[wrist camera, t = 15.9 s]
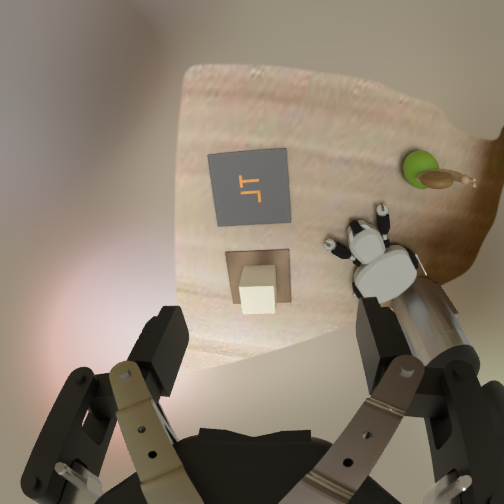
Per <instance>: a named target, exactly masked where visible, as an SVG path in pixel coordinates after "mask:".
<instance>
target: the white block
mask: <svg viewBox="0 0 504 504" xmlns="http://www.w3.org/2000/svg"><path fill="white" fill-rule="evenodd" d="M239 292H240V299H241V306H242V312H243V314H272V313H276V298H277V285H276V271H275V265H255V266H244V267H243V271H242V275H241V279H240V284H239Z"/></svg>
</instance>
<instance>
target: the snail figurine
mask: <svg viewBox="0 0 504 504" xmlns="http://www.w3.org/2000/svg"><path fill="white" fill-rule="evenodd" d="M403 172H404V175H405V178H406V180H407V181H408V182H409V183H410V184H411V185H412V186H414V187H416V188H419V189H426V188H432V189H443V188H447V187H450V186H451V185H452V184H453V180H454V181H457V182H461V183H462V184H464V185H467V184H469V183H470V177H469V176H468V175H465V174H461V173H459V172H456V171H452V170H446V169H439V166H438V163H437V161H436V159H435V158H434V157H433V156H432V155H431V154H430V153H428V152H426V151H420V150H419V151H414V152H412V153H410V154H409V155H408V156H407V157H406V159H405V161H404V164H403ZM471 179H472V181H473V182H475V181H476V179H475V178H471ZM471 184H472V183H471ZM472 186H473V187H476V184H475V183H473V184H472Z"/></svg>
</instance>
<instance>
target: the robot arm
mask: <svg viewBox="0 0 504 504" xmlns="http://www.w3.org/2000/svg"><path fill="white" fill-rule="evenodd" d="M392 308H393V311H394V312H393V311H392V310H391V309H390V308H389V307H381V306H380V304H379V301H378V299H377V297H376V296H375V297H364V298H359V302H358V312H357V320H356V337H357V341H358V345H359V349H360V354H361V358H362V362H363V367H364V371H365V376H366V380H367V385H368V389H369V395H371V397H370V398H367V399H366V400H365V401H364V402H363V404H362V405H361V407H360V408H359V410H358V411H357V413H356V414H355V415H354V417H353V418H352V420H351V421H350V423H349V424H348V425H347V427H346V428H345V429H344V431H343V432H342V433H341V435H340V436H339V437H338V439H337V440H336V441H335V443H334V444H332V443H330V442H328V441H326V440H323V439H319V438H315V437H311V430H297V431H280V432H276V433H272V434H267V435H262V436H258V437H250V436H247V435H243V434H239V433H235V432H232V431H228V430H220V429H219V430H218V429H206V428H200V430H199V434H198V435H195V436H190V437H187V438H184V439H182V440H180V441H179V440H178V438H177V436H176V435H175V433H174V431H173V429H172V427H171V425H170V423H169V421H168V420H167V417H166V415H165V413H164V411H163V409H162V407H161V405H160V403H159V399H160V396H165V397H170V394H171V391H172V388H173V385H174V382H175V379H176V377H177V374H178V371H179V368H180V365H181V362H182V359H183V356H184V354H185V351H186V348H187V345H188V342H189V332H188V328H187V325H186V322H185V319H184V316H183V313H182V310H181V308H180V306H163V307H162V309H161V311H160V312H159V315H158V316H154V317H152V318H151V319H150V320H149V321H148V322H147V323H146V325H145V327H144V328H143V330H142V333H141V334H140V336H139V339H138V340H137V341H136V343H135V345H134V347H133V349H132V351H131V353H130V355H129V357H128V359H127V361H123V362H120V363H118V364H116V365H115V366H114V367H113V368H112V369H111V371H110V373H104V374H97V375H94V373H93V371H92V370H91V369H90V368H88V367H80V368H77V369H75V370H74V371H73V372H71V374H70V375H69V376H68V379H67V380H66V382H65V384H64V386H63V388H62V390H61V391H60V394H59V395H58V397H57V399H56V401H55V403H54V405H53V407H52V409H51V411H50V413H49V415H48V417H47V420H46V422H45V424H44V426H43V428H42V430H41V432H40V435H39V437H38V439H37V441H36V443H35V446H34V448H33V450H32V453H31V455H30V457H29V460H28V462H27V465H26V467H25V470H24V472H23V475H22V478H21V488H22V491H23V492H24V494H25V495H26V496H28V497H29V498H31V499H32V500H34V501H36V502H38V503H39V504H401V503H400V502H399V501H398V500H396V499H395V498H394V497H393V496H392V495H391V494H389V493H388V492H387V491H386V490H385V489H384V488H382V487H381V486H380V485H379V484H378V483H377V482H376V481H374V480H373V479H372V478H371V477H370V476H369V473H370V472H371V470H372V469H373V467H374V466H375V464H376V463H377V461H378V460H379V458H380V456H381V455H382V453H383V452H384V450H385V448H386V447H387V445H388V443H389V442H390V440H391V438H392V437H393V435H394V433H395V431H396V429H397V428H398V426H399V424H400V422H401V420H402V419H403V417H404V416H412V417H422V418H424V420H425V424H426V430H427V434H428V440H429V445H430V451H431V457H432V463H433V470H434V477H435V484H434V485H433V486H432V487H431V488H430V489H429V490H428V491H427V492H426V494H425V496H424V499H423V504H504V386H503V385H502V384H501V383H500V382H498V381H490V382H488V383H486V384H485V385H483V386H482V387H481V386H480V383H479V381H478V378H477V375H478V372H479V369H480V360H479V357H478V355H477V353H476V351H475V350H474V348H473V346H472V344H471V342H470V341H469V339H468V337H467V336H466V334H465V332H464V330H463V329H462V327H461V325H460V324H459V322H458V318H459V313H458V311H457V310H456V308H455V307H454V305H453V304H452V302H451V301H450V299H449V298H448V296H447V295H446V293H445V292H444V290H443V289H442V287H441V286H440V284H439V283H434V282H432V281H431V280H430V279H428V278H424V277H417V278H416V279H415V280H414V282H413V283H412V285H411V286H410V287H409V288H408V289H406V290H405V291H404V292H403V293H401V294H400V295H399V296H398V297H396V298H393V300H392ZM87 410H88V411H89V413H88V415H87V417H86V420H85V422H84V424H83V427H82V422H83V419H84V417H85V414H86V412H87ZM117 420H118V422H119V426H120V429H121V432H122V435H123V437H124V440H125V443H126V446H127V449H128V451H129V454H130V456H131V459H132V462H133V464H134V467H135V469H136V471H137V472H135V473H134V474H132V475H131V476H130V477H128V478H127V479H125V480H124V481H122V482H121V483H119V484H118V485H116V486H115V487H113V488H112V489H110V490H109V491H107V492H106V493H104V494H103V491H102V484H101V481H100V480H99V479H98V477H99V474H100V470H101V467H102V464H103V461H104V458H105V455H106V452H107V449H108V446H109V443H110V440H111V437H112V434H113V431H114V428H115V425H116V422H117Z"/></svg>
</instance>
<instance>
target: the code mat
mask: <svg viewBox="0 0 504 504" xmlns="http://www.w3.org/2000/svg"><path fill="white" fill-rule="evenodd" d="M208 162H209V169H210V176H211V183H212V190H213V197H214V204H215V211H216V218H217V224H218V227H220V226H236V225H254V224H274V223H291V214H290V197H289V181H288V166H287V152H286V148H281V149H265V150H252V151H240V152H230V153H220V154H212V155H208Z"/></svg>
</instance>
